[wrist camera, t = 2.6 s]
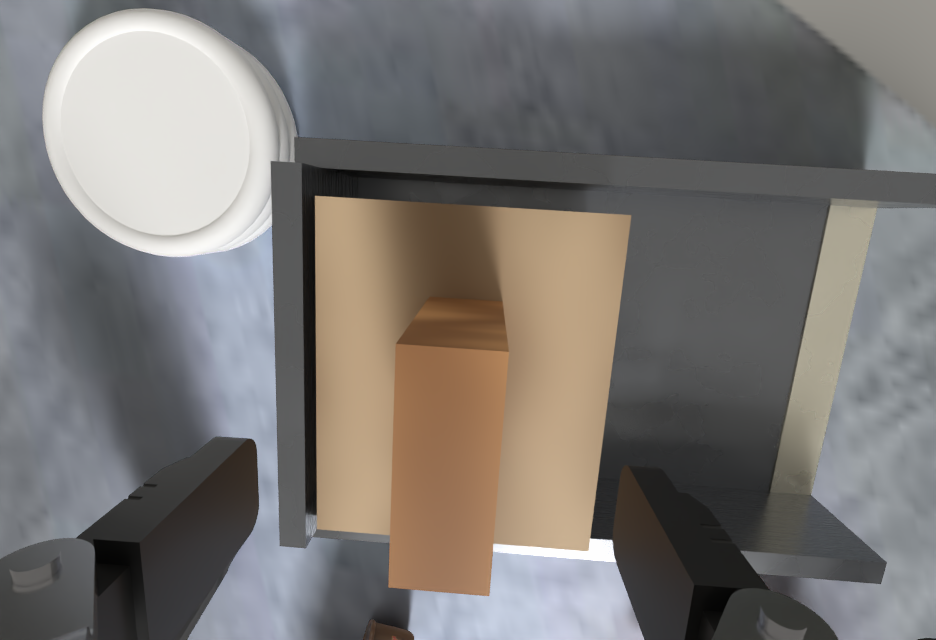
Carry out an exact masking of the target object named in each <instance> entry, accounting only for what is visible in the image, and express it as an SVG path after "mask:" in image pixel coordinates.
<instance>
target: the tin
mask: <svg viewBox="0 0 936 640" xmlns="http://www.w3.org/2000/svg"><path fill="white" fill-rule="evenodd" d="M363 640H414V636H413V634H412V633H411V632H410V631H407V630H405V629H401V628H397V627H393V626H389V625H385V624H381V623H377V622H375V620H373V619H372V620H370V621H369V623H368V625H367V628H366V631H365V634H364V637H363Z"/></svg>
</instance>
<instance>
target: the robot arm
mask: <svg viewBox="0 0 936 640" xmlns="http://www.w3.org/2000/svg"><path fill="white" fill-rule="evenodd" d="M258 509H259V494H258V468H257V448H256V444H255V442H254V440H252V439H247V438H232V437H215V438H213V439H212V440H211V441H209V442H208V443H207V444H206V445H205V446H203V447H202V448H201V449H200V450H199V451H197V452H196V453H195V454H194V455H193V456H192V457H190V458H185V459H183V460H180V461H178V462H176V463H174V464H172V465H170V466H168V467H165V468H163V469H162V470H160V471H159V472H158V473H157V474H155V475H154V476H153V477H152V478H150V479H149V480H148V481H147V482H145V483H144V486H143V487H139V488H138V489H137V490H135V491H134V492H133V493H132V494H130V495H129V497H128V499H124V500H123V501H122V502H120V503H119V504H118V505H117V506H115V507H114V508H113V509H112V510H110V511H109V512H108V513H107V514H105V515H104V516H103V517H102V518H100V519H99V520H98V521H97V522H95V523H94V524H93V525H92V526H90V527H89V528H88V529H87V530H85V531H84V532H83V533H82V534H80V535H79V536H78V537H77V538H62V539H54V540H49V541H44V542H40V543H37V544H33V545H30V546H27V547H25V548H22V549H19V550H17V551H15V552H13V553H11V554H9V555H7V556H5V557H3V558H1V559H0V640H174V638H175V637H176V636H177V634H178V633H179V632H180V630H181V629H182V627H183V626H184V625H185V623H186V622H187V621H188V619H189V618H190V616H191V615H192V614H193V612H194V611H195V610H196V608H197V607H198V605H199V604H200V603H201V601H202V600H203V599H204V597H205V596H206V594H207V593H208V592H209V590H210V589H211V588H212V586H213V585H214V583H215V582H216V581H217V579H218V578H219V577H220V575H221V574H222V572H223V571H224V570H225V568H226V567H227V566H228V564H229V563H230V561H231V560H232V559H233V557H234V556H235V555H236V553H237V552H238V550H239V549H240V548H241V546H242V545H243V544H244V542H245V541H246V539H247V538H248V537H249V535H250V534H251V532H252V530H253V528H254V525H255V523H256V519H257V515H258ZM613 550H614V556H615V560H616V563H617V566H618V569H619V572H620V574H621V577H622V580H623V582H624V585H625V588H626V591H627V593H628V596H629V599H630V601H631V604H632V607H633V610H634V612H635V615H636V618H637V620H638V623H639V626H640V629H641V631H642V634H643V637H644V639H645V640H838V638H837V636H836V634H835V633H834V631H833V630H832V629H831V628H830V626H829V625H828V624H827V623H826V622H825V621H824V620H823V619H822V618H821V617H820V616H818V615H817V614H816V613H815V612H813V611H812V610H811V609H809V608H808V607H806V606H805V605H803V604H801V603H799V602H798V601H796V600H794V599H792V598H790V597H787V596H785V595H782V594H780V593H777V592H773V591H770V590H769V589H768V587H767V586H766V585H765V583H764V582H763V581H762V579H761V578H760V577H759V575H758V574H757V573H756V571H755V570H754V569H753V567H752V566H751V565H750V563H749V562H748V561H747V559H746V558H745V557H744V555H743V554H742V553H741V551H740V550H739V548H738V547H737V546H736V544H733V543H732V539H731V538H730V536H729V535H728V534H727V532H726V531H725V530H724V529H722V528H721V524H720V523H719V522H718V520H717V519H716V518H715V516H714V515H713V514H712V512H711V511H710V510H709V508H708V507H706V506H705V505H703V504H702V503H701V502H699V501H698V500H697V499H695V498H694V497H692V496H691V495H690V494H688V493H681V492H678V491H677V490H676V488H675V487H674V485H673V484H672V482H671V481H670V479H669V478H668V476H667V475H666V473H665V472H664V470H663V469H662V468H660V467H646V466H632V465H625V466H624V467H623V468H622V471H621V475H620V482H619V489H618V497H617V504H616V512H615V519H614V527H613ZM918 640H936V639H933V638H924V639H918Z"/></svg>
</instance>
